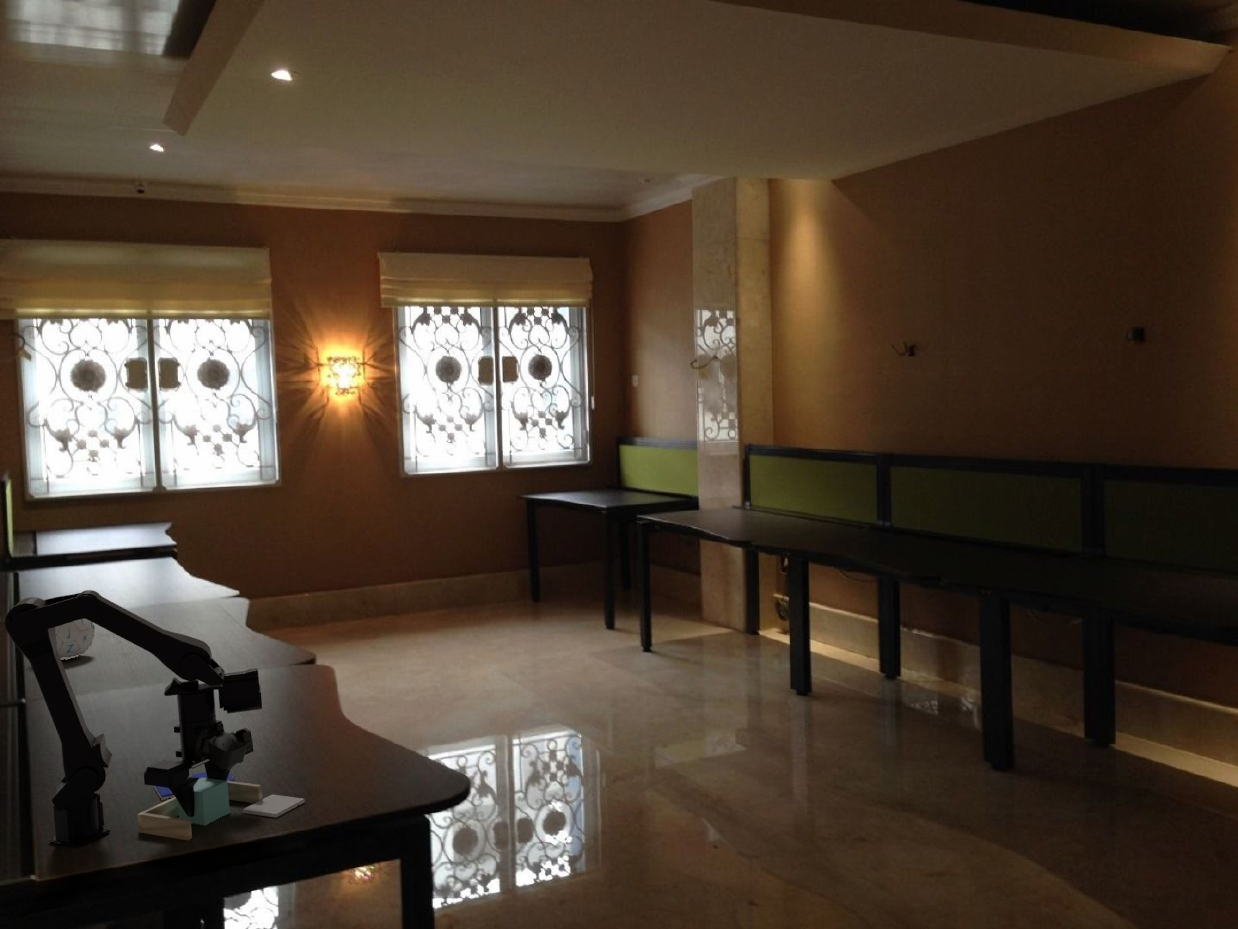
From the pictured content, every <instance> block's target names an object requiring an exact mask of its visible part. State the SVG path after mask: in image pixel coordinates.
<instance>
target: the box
mask: <svg viewBox="0 0 1238 929" xmlns="http://www.w3.org/2000/svg"><path fill="white" fill-rule="evenodd" d="M227 783H228V797H229V801H237V802H243V803H249V804H254V803H256V802H258V801H260V800H262V799H263V789H262V784H257V783H256V784H255V783H250V782H249V783H248V782H241V781H240V782H239V781H235V782H234V781H227ZM136 815H137V826H138V833H141V834H148V835H155V836H159V837H165V838H170V839H171V838H172V839H177V840H184V841H190V840H192V839H193V834H192V832H193V830H192V823H191V820H188V819H182V818H179V817H178V816H179V807H178V800H177V799H176V797H173V798H171V799H167V800H164V801H162V802H161V803H158V804H157V805H154V806H152V807H150V808H147V809H145V810H143V811H141V812H139V813H137V814H136ZM175 816H176V817H175Z"/></svg>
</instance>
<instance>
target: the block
mask: <svg viewBox="0 0 1238 929" xmlns="http://www.w3.org/2000/svg"><path fill="white" fill-rule="evenodd" d="M194 806H195V809H194V816H193V817H188V816H187V815H186V813H185V811H184V810H183V808H182V807H181V805H180V803H179V802H178V807H179V815H178V816H179V817H178V818H182V819H188V820H191V825H192V824H193V823H194V824H193V825H198V824H199V826H207V825H209V824H211V823H213V822H214V821H216V819H217V820H218V818H219V819H221V818H223V817H225V816H227V815H228V814H230V800H229V797H228V783H227V781H225V780H217V779H210V778H200V779H198V781H197V782H196V784H195V785H194ZM222 816H223V817H222ZM220 817H221V818H220ZM210 822H211V823H210Z"/></svg>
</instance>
